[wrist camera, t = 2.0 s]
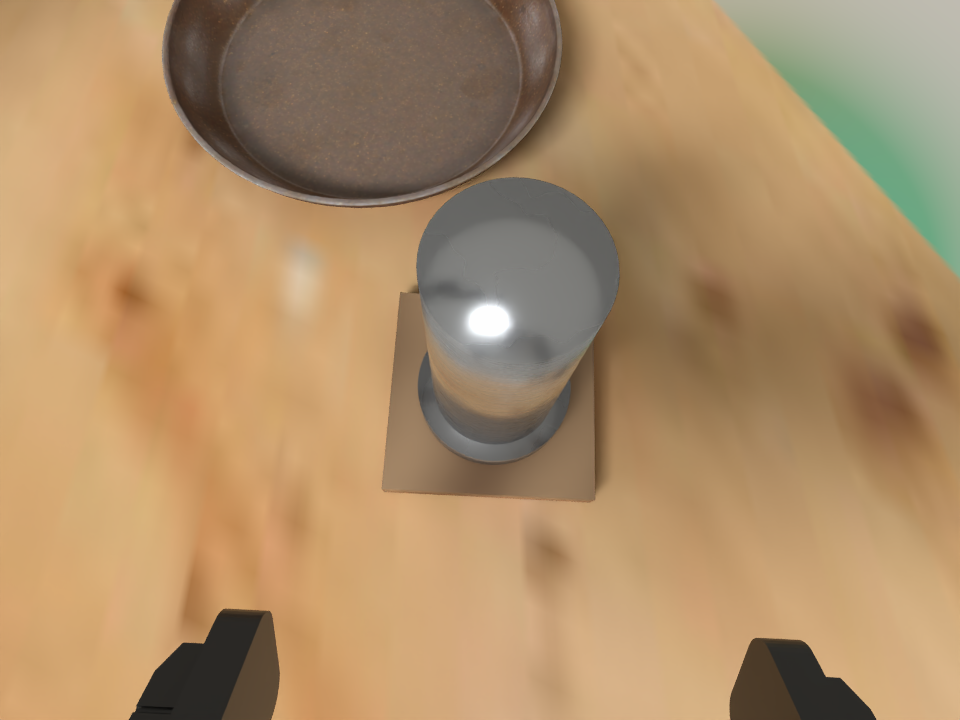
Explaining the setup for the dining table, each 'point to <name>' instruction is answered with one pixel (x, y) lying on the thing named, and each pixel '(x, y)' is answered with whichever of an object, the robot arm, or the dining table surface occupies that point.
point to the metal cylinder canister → (509, 313)
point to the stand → (436, 470)
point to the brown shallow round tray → (360, 90)
